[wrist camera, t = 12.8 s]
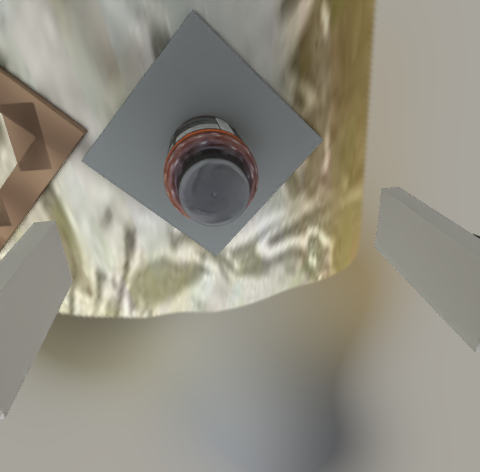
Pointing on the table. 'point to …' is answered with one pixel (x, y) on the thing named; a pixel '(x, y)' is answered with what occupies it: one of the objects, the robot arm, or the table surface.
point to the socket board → (31, 148)
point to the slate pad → (192, 105)
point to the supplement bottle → (209, 171)
